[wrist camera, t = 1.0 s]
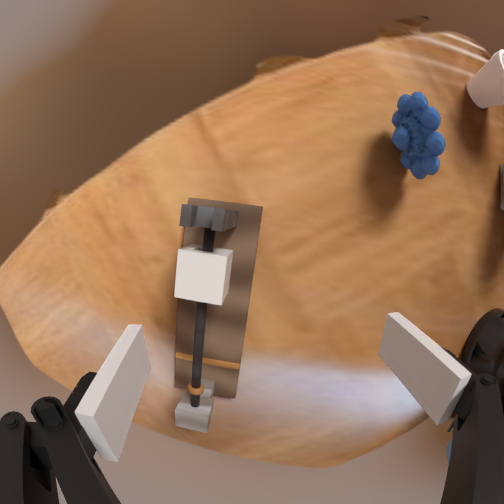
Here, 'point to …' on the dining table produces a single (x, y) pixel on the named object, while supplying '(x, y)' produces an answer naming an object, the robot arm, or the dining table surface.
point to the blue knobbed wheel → (418, 135)
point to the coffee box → (502, 187)
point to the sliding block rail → (214, 310)
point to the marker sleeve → (203, 274)
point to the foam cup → (488, 83)
